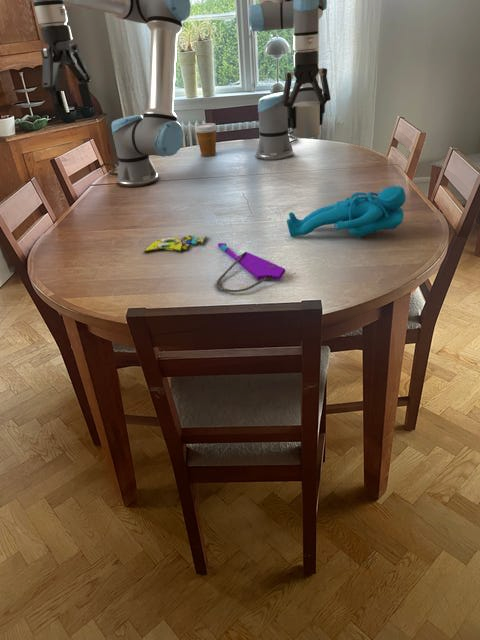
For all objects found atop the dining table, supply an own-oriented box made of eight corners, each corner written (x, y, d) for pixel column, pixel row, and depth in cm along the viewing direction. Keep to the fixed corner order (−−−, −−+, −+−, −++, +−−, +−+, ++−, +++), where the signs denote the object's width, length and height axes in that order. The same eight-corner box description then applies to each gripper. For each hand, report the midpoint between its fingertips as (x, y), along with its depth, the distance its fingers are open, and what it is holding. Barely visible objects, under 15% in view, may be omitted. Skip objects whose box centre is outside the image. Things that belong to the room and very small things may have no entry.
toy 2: (290, 200, 134) (401, 173, 124) (299, 235, 139) (407, 211, 129) (281, 224, 121) (406, 195, 110) (292, 261, 126) (412, 237, 116)
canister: (321, 131, 167) (321, 100, 162) (317, 137, 160) (317, 106, 154) (295, 131, 170) (295, 101, 164) (290, 138, 162) (289, 106, 157)
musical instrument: (259, 304, 102) (301, 255, 114) (257, 296, 101) (299, 248, 113) (174, 288, 115) (219, 245, 127) (171, 280, 114) (217, 238, 126)
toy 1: (199, 248, 125) (143, 249, 127) (199, 251, 125) (144, 252, 127) (206, 233, 133) (154, 234, 135) (206, 236, 133) (154, 237, 136)
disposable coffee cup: (194, 156, 208) (190, 127, 202) (203, 151, 216) (200, 122, 209) (213, 157, 205) (210, 127, 199) (222, 151, 212) (220, 122, 206)
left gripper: (37, 26, 114) (62, 120, 126) (91, 21, 134) (108, 103, 146) (11, 28, 117) (38, 121, 128) (68, 23, 136) (87, 104, 148)
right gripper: (277, 55, 146) (279, 132, 158) (343, 47, 150) (340, 123, 162) (269, 53, 152) (272, 128, 164) (333, 46, 156) (331, 120, 168)
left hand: (75, 112), depth 137 cm, fingers open, 13 cm apart
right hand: (306, 126), depth 163 cm, fingers closed on canister, 9 cm apart
